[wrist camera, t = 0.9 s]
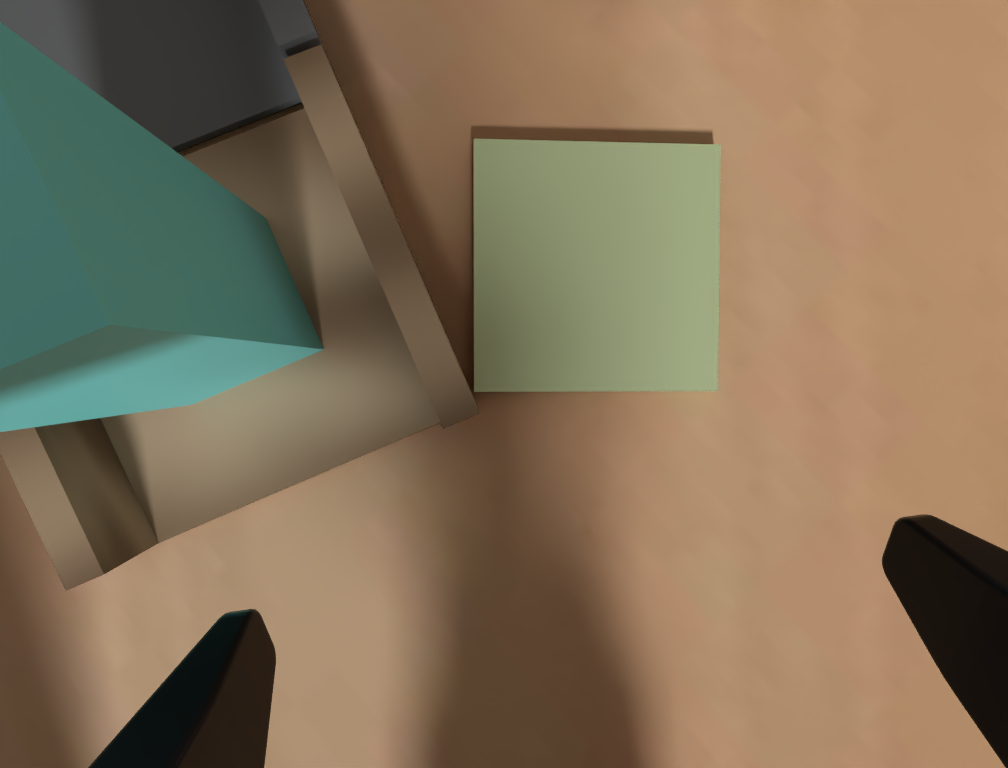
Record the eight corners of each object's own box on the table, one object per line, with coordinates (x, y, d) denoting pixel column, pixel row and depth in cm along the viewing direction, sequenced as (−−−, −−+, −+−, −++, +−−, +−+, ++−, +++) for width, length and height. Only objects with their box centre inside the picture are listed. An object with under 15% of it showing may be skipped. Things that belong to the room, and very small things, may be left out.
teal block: (323, 349, 21) (109, 324, 8) (190, 405, 21) (-237, 465, 8) (265, 217, 20) (-46, -12, 8) (130, 272, 20) (-408, 123, 8)
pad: (712, 390, 22) (718, 391, 22) (473, 391, 22) (473, 392, 21) (714, 149, 22) (720, 144, 21) (473, 143, 21) (473, 138, 21)
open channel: (476, 405, 22) (479, 413, 18) (132, 553, 21) (65, 590, 17) (345, 97, 21) (321, 44, 17) (-15, 240, 20) (-114, 214, 17)
